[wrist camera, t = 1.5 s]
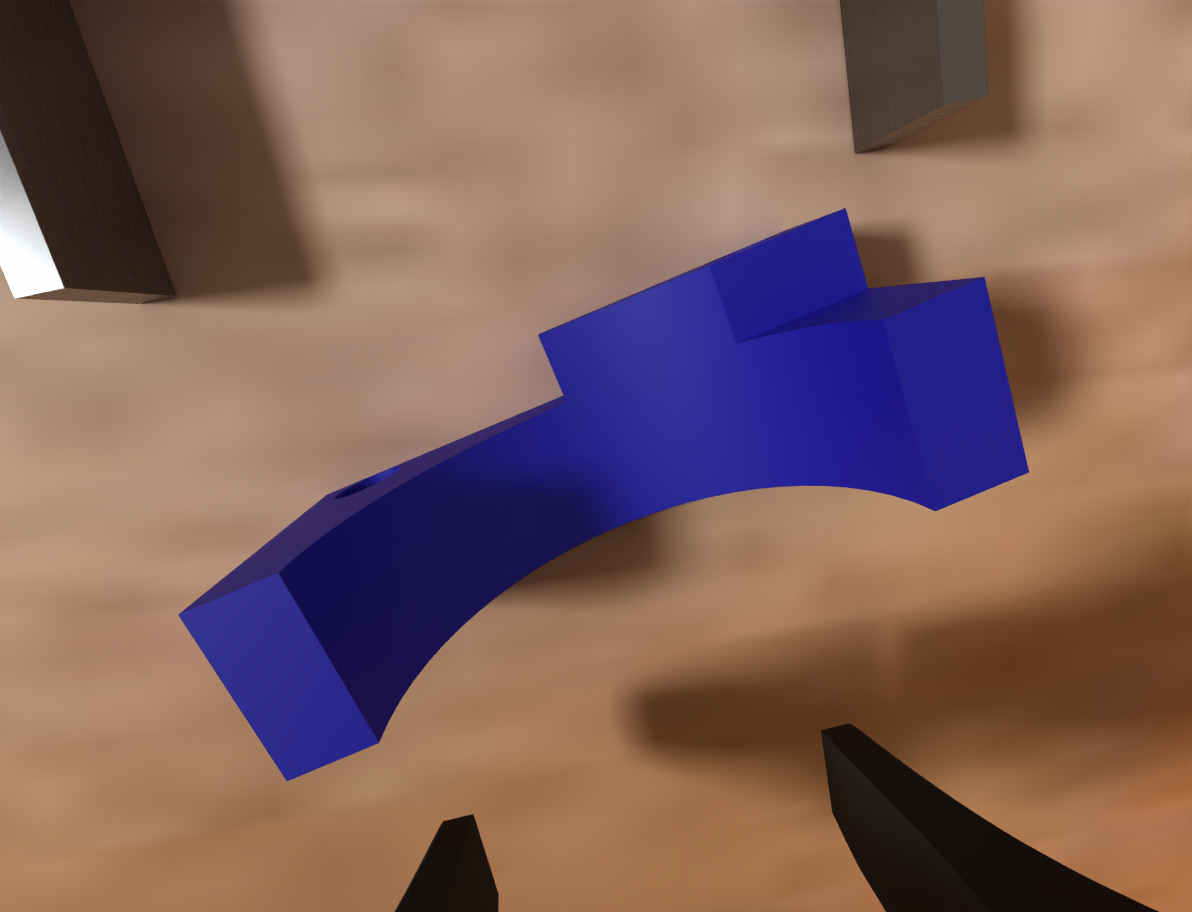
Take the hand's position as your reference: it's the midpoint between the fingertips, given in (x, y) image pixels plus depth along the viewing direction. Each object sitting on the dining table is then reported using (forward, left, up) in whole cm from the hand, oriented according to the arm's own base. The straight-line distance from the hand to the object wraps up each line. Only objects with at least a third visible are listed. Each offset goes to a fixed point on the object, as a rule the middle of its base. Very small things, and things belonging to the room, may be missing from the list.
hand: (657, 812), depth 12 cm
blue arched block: (+7, 0, -4) cm, 8 cm away
